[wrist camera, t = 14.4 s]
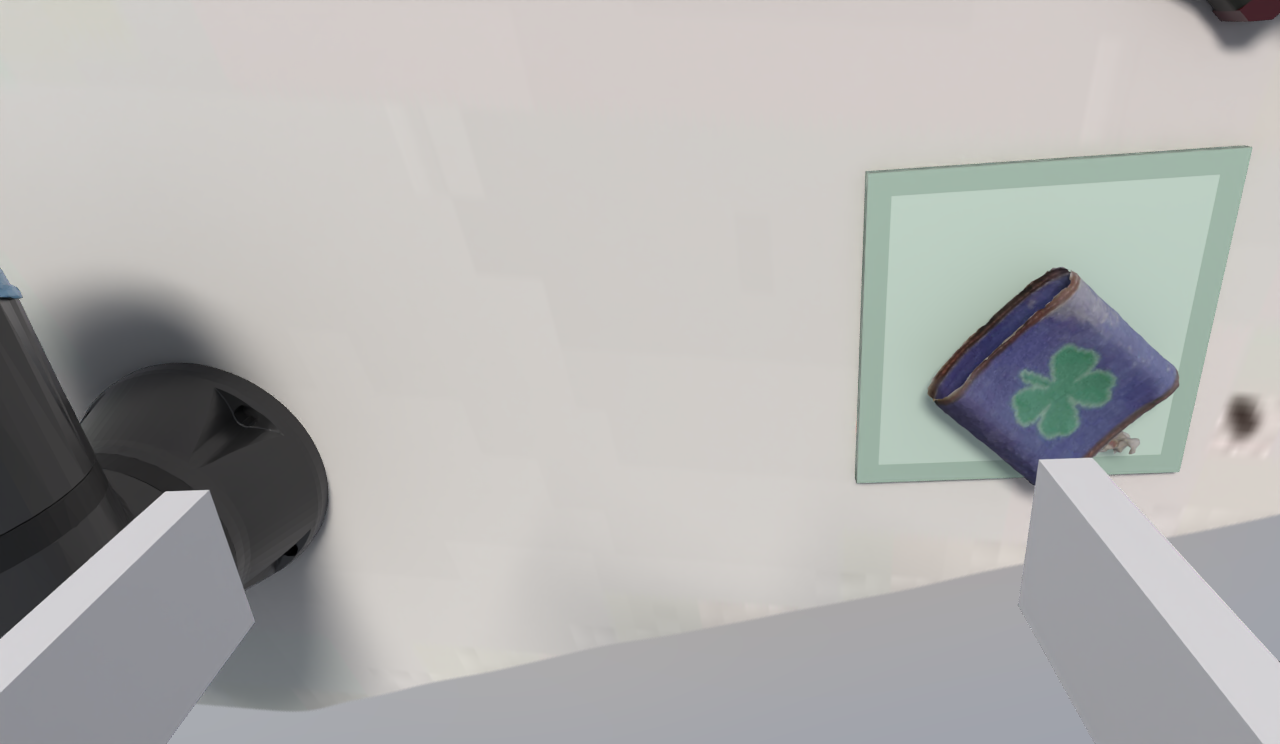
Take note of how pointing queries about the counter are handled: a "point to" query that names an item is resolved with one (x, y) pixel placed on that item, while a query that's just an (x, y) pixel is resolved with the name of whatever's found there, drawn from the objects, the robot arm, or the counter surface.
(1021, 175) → the mat
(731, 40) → the counter surface
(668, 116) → the counter surface
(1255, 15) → the toy gun
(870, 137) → the counter surface
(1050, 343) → the blue clover box
